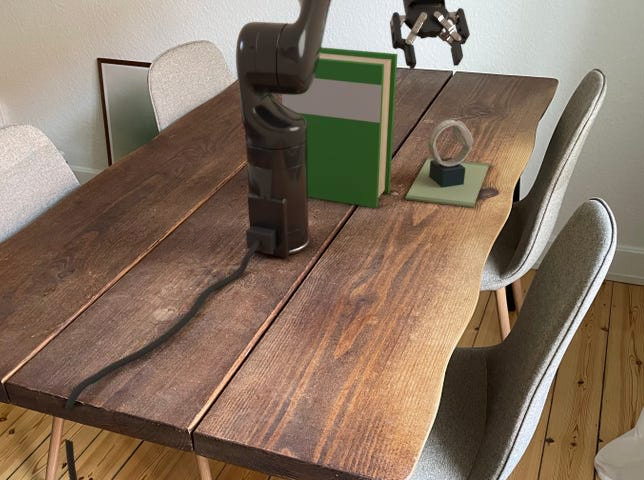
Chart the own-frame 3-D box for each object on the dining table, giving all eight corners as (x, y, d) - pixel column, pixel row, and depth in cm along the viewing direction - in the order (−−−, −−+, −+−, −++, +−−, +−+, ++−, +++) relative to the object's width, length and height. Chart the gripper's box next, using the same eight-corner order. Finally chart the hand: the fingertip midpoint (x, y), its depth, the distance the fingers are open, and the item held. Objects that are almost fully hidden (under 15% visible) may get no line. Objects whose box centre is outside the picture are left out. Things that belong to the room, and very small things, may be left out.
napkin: (472, 207, 131) (473, 205, 131) (404, 199, 134) (405, 197, 134) (489, 165, 146) (489, 163, 146) (427, 159, 150) (427, 157, 149)
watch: (473, 182, 139) (480, 123, 132) (433, 189, 137) (438, 129, 130) (459, 171, 143) (465, 113, 137) (420, 177, 141) (424, 119, 135)
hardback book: (389, 191, 137) (397, 54, 123) (375, 207, 132) (382, 65, 118) (301, 178, 144) (299, 45, 130) (285, 192, 138) (280, 56, 124)
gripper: (389, -26, 137) (403, 56, 135) (463, -30, 139) (479, 50, 137) (379, 1, 145) (393, 78, 142) (450, -4, 147) (465, 73, 144)
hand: (435, 65), depth 139 cm, fingers open, 8 cm apart
